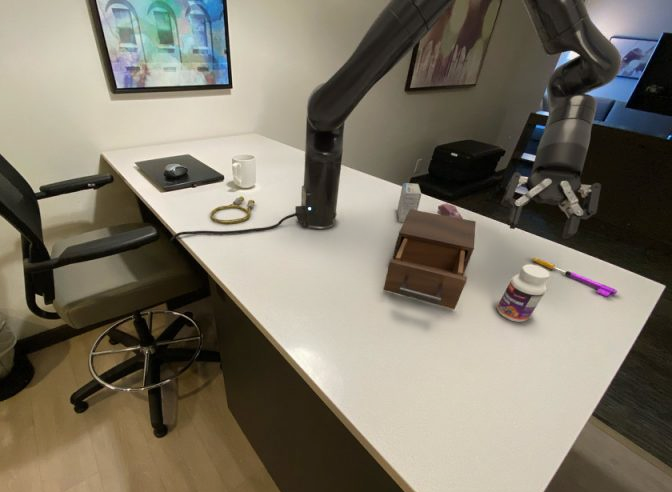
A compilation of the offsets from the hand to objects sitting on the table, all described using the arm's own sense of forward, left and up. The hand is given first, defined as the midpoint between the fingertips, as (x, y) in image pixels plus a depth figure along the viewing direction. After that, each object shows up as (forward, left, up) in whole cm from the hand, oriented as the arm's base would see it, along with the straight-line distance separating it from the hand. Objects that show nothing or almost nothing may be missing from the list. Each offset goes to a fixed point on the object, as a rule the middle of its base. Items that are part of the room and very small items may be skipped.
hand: (539, 232), depth 61 cm
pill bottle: (-5, -7, -13) cm, 16 cm away
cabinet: (-12, +13, -13) cm, 22 cm away
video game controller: (+3, +29, -13) cm, 32 cm away
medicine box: (-7, +36, -13) cm, 39 cm away
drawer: (-20, +1, -12) cm, 23 cm away
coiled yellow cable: (-56, +45, -13) cm, 73 cm away
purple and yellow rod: (+15, +2, -13) cm, 20 cm away
